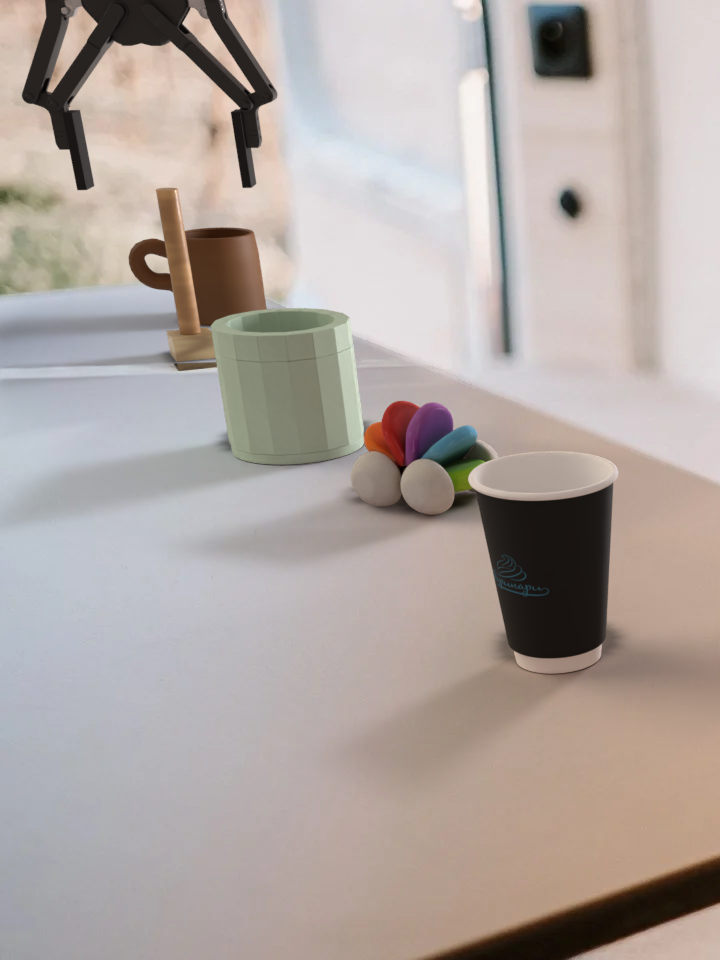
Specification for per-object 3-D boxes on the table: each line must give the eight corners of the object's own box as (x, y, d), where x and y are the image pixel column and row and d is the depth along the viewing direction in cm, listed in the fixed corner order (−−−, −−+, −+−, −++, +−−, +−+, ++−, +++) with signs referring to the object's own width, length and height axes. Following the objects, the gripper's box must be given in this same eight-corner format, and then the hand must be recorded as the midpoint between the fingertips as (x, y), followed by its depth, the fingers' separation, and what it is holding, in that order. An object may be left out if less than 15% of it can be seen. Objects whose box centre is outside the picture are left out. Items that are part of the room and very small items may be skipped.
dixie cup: (474, 686, 88) (454, 494, 83) (500, 629, 95) (482, 450, 91) (621, 684, 88) (609, 494, 84) (636, 628, 96) (625, 450, 91)
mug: (144, 340, 159) (126, 243, 155) (138, 325, 165) (121, 231, 161) (273, 330, 164) (260, 236, 160) (263, 315, 170) (250, 225, 167)
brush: (178, 370, 148) (147, 192, 142) (171, 362, 151) (141, 187, 145) (220, 366, 150) (191, 190, 144) (212, 358, 153) (184, 185, 147)
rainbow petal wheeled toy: (413, 474, 122) (402, 380, 119) (521, 491, 119) (513, 395, 116) (336, 507, 114) (322, 407, 112) (449, 526, 111) (438, 424, 109)
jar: (221, 467, 122) (199, 337, 118) (243, 432, 131) (224, 309, 127) (357, 462, 124) (340, 333, 120) (370, 427, 133) (355, 306, 129)
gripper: (-55, -75, 130) (2, 195, 138) (273, -70, 135) (310, 190, 144) (-25, -75, 137) (28, 183, 145) (287, -69, 142) (321, 179, 150)
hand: (168, 187), depth 144 cm, fingers open, 13 cm apart
